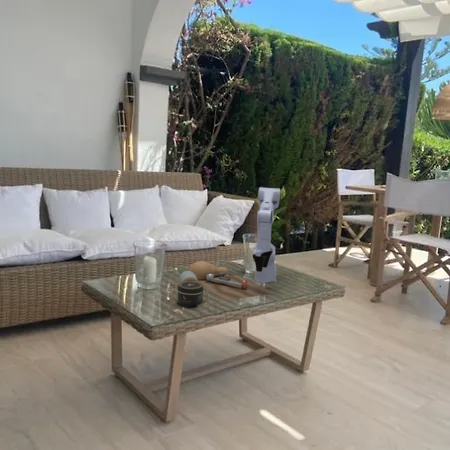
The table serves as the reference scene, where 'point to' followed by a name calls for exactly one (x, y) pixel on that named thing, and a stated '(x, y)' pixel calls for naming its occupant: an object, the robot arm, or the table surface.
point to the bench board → (234, 288)
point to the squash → (205, 269)
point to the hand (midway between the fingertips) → (261, 269)
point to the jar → (190, 294)
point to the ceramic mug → (188, 277)
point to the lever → (226, 281)
